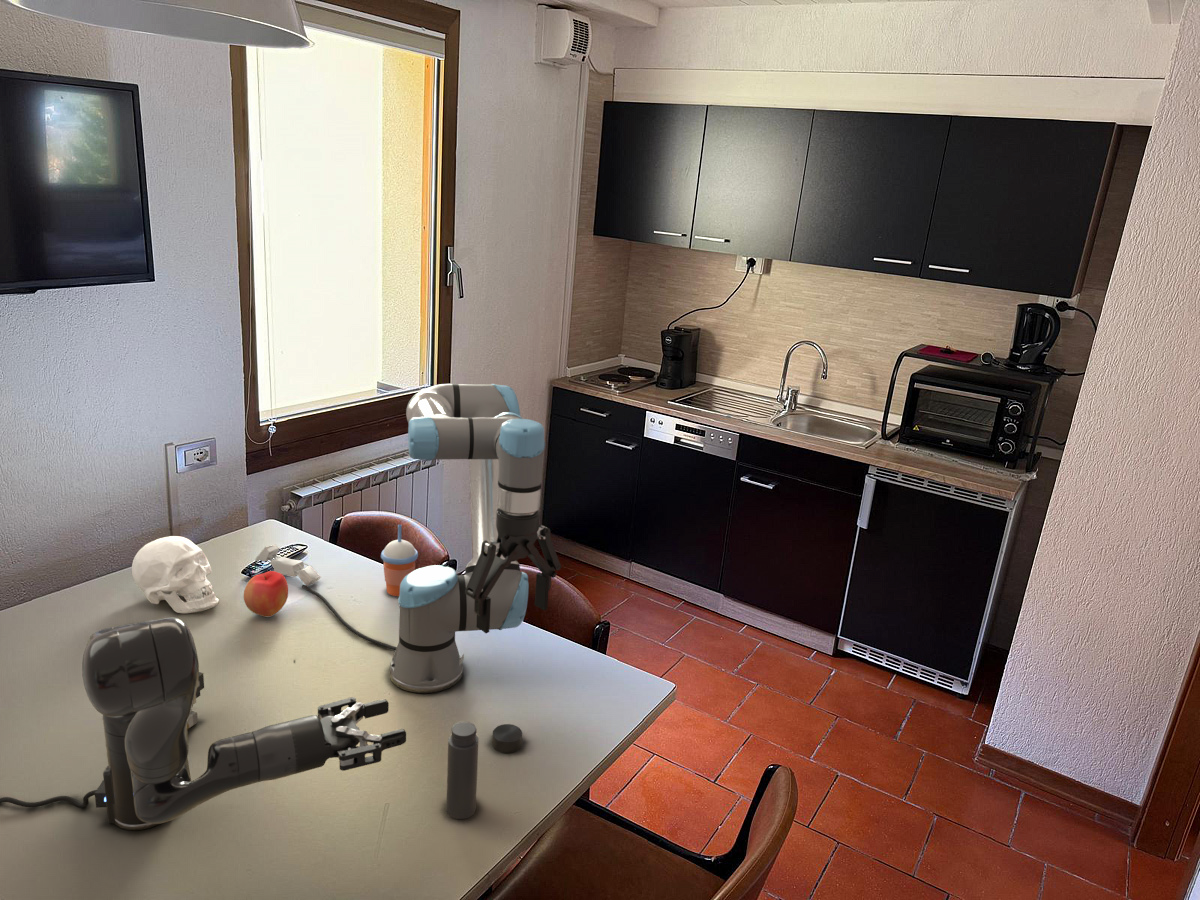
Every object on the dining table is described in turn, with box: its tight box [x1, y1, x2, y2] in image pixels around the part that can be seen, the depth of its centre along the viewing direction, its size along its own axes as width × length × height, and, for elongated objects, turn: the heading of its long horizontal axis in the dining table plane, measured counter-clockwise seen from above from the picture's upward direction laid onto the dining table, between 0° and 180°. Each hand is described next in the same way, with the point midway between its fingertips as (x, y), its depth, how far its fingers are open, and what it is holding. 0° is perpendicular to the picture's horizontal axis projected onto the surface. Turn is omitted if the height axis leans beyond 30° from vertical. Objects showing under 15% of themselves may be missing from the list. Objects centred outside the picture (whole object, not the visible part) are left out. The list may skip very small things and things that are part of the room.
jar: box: [445, 720, 479, 820], centre depth 142 cm, size 5×5×16 cm
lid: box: [491, 723, 523, 754], centre depth 162 cm, size 6×6×2 cm
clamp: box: [254, 544, 322, 587], centre depth 219 cm, size 20×4×7 cm, turn 62°
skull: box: [131, 535, 220, 615], centre depth 201 cm, size 13×22×16 cm, turn 73°
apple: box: [243, 570, 289, 618], centre depth 199 cm, size 10×10×10 cm
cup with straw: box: [380, 524, 419, 597], centre depth 214 cm, size 9×9×18 cm
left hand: (396, 720), depth 133 cm, fingers open, 8 cm apart
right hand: (512, 618), depth 154 cm, fingers open, 13 cm apart
